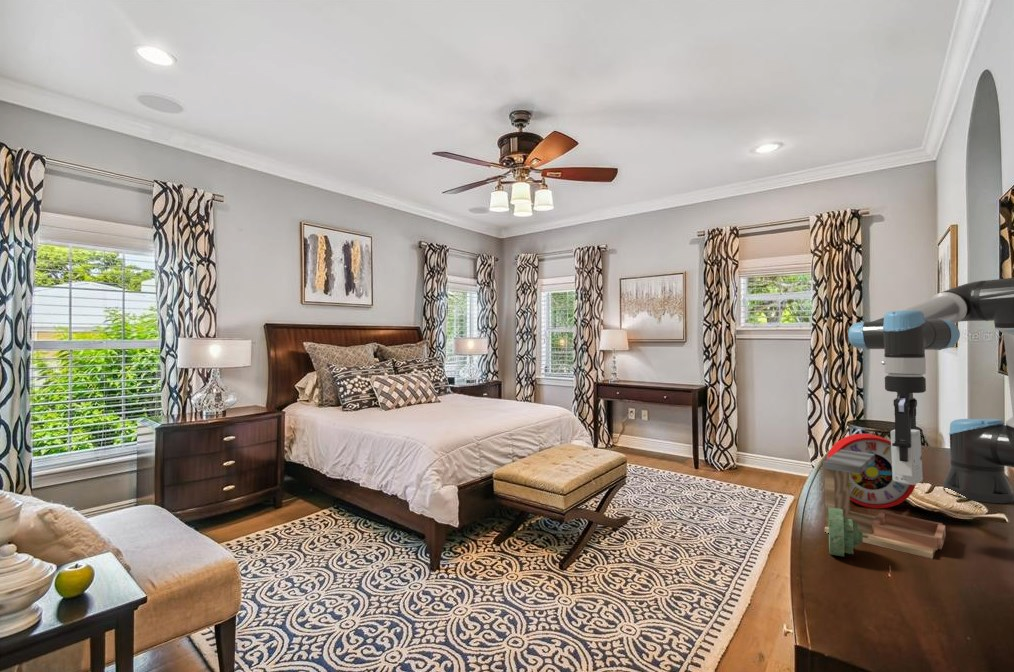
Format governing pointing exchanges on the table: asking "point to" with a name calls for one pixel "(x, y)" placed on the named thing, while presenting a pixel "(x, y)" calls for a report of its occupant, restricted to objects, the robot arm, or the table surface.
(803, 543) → the table surface
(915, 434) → the skincare box
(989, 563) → the table surface
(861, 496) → the toy clock
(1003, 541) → the table surface
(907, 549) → the awning stand
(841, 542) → the decorative artifact
